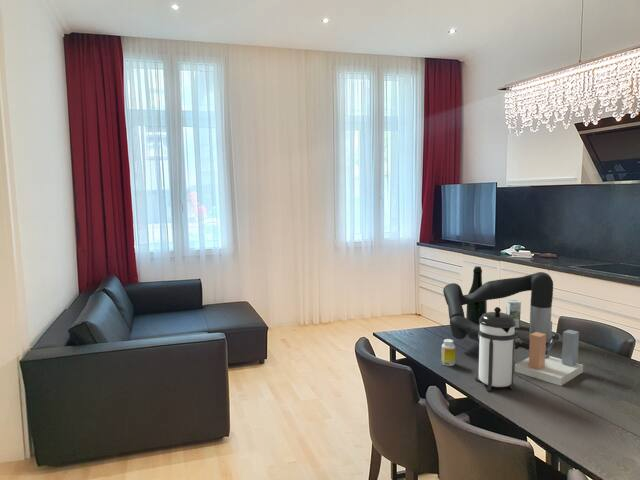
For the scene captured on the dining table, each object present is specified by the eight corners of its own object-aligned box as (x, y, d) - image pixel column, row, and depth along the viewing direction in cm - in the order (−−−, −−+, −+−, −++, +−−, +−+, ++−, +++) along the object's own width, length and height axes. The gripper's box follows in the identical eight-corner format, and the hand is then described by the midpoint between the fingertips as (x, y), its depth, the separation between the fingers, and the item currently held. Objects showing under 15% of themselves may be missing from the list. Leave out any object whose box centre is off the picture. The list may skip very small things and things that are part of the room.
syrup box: (516, 325, 245) (517, 299, 244) (520, 328, 239) (521, 301, 238) (505, 325, 246) (506, 299, 244) (509, 328, 240) (509, 301, 238)
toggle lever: (541, 352, 189) (552, 333, 185) (544, 350, 191) (555, 331, 187) (547, 356, 188) (558, 337, 183) (550, 354, 189) (561, 335, 185)
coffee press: (523, 383, 171) (526, 306, 168) (507, 397, 160) (510, 314, 156) (479, 371, 183) (481, 299, 180) (461, 383, 171) (463, 306, 168)
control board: (514, 371, 183) (514, 362, 182) (537, 359, 195) (538, 351, 195) (560, 385, 169) (561, 376, 168) (582, 372, 181) (583, 363, 181)
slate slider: (561, 363, 182) (563, 332, 181) (567, 360, 185) (568, 329, 184) (572, 366, 179) (573, 334, 178) (577, 363, 182) (579, 331, 181)
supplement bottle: (457, 365, 190) (458, 341, 189) (447, 367, 188) (448, 343, 187) (448, 360, 195) (449, 337, 194) (438, 362, 193) (438, 339, 192)
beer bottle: (462, 327, 243) (463, 266, 239) (472, 323, 250) (473, 264, 247) (480, 331, 235) (482, 268, 232) (490, 327, 242) (491, 266, 239)
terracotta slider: (528, 366, 179) (529, 334, 178) (534, 363, 183) (536, 331, 181) (538, 369, 176) (540, 336, 175) (544, 366, 179) (546, 334, 178)
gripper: (499, 341, 198) (539, 352, 185) (483, 348, 190) (523, 360, 176) (500, 324, 197) (540, 334, 184) (484, 331, 189) (524, 342, 176)
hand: (532, 347), depth 180 cm, fingers closed
